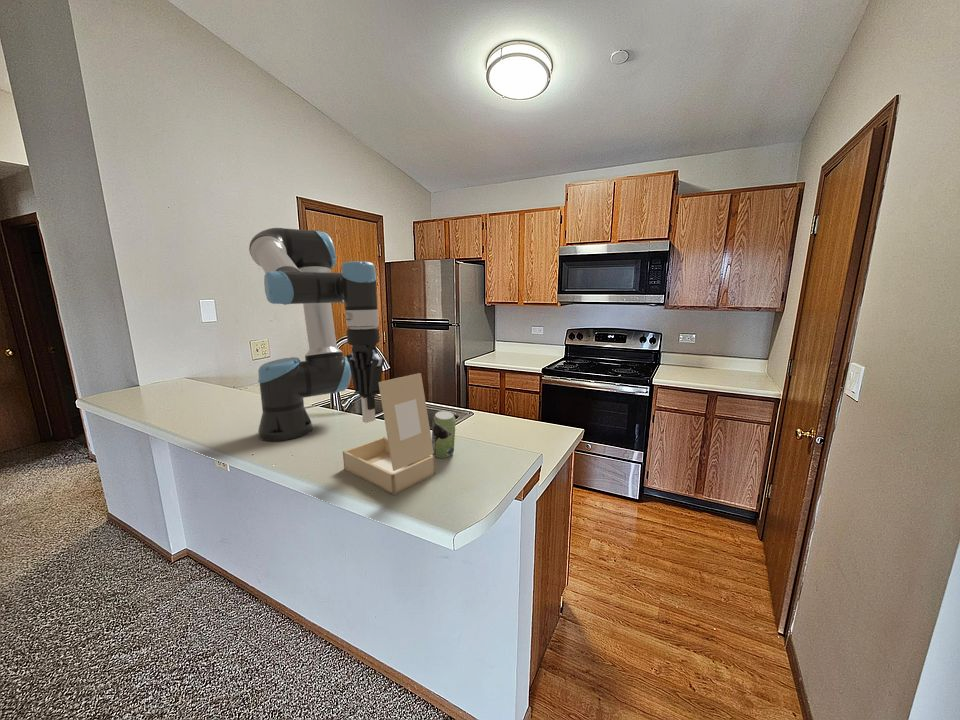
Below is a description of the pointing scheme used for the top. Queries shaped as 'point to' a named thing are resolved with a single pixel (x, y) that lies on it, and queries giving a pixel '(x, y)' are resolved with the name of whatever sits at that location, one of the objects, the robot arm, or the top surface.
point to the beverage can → (443, 434)
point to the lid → (406, 419)
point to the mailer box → (386, 467)
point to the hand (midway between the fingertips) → (369, 420)
